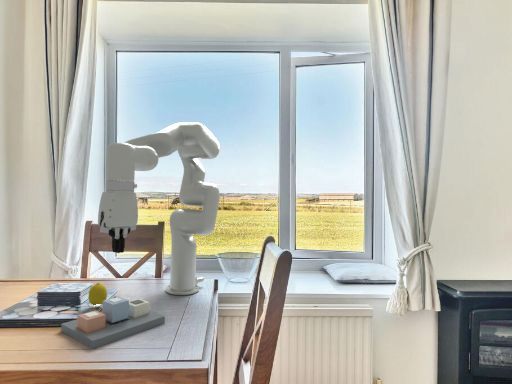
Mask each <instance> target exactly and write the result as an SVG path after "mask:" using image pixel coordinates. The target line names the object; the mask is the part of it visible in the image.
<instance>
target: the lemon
mask: <svg viewBox="0 0 512 384" xmlns="http://www.w3.org/2000/svg"><path fill="white" fill-rule="evenodd" d="M87 298H88V301H89V304H91V305H92V304H93V305H92V306H94V305H96V304H102V305H103V300H107V299H108V289H107V287H106V286H105V285H104V284H102V283H100V282H97V283H96V284H94V285H93V286H91V288H90V289H89V292H88V297H87Z"/></svg>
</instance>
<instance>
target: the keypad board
mask: <svg viewBox="0 0 512 384" xmlns="http://www.w3.org/2000/svg"><path fill="white" fill-rule="evenodd" d="M100 312H101V313H102V311H100ZM77 319H78V318H77ZM77 319H74V320H70V321H67V322H63V323H61V328H60V329H61V332H62V333H63V334H66V335H67V336H69V337H71V338H72V339H74V340H76V341H78V342H79V343H81V344H83V345H85V346H87V347H88V348H89V349H92V350H93V349H97V348H99V347H101V346H105V345H107V344H110V343H113V342H116V341H118V340H121V339H124V338H126V337H129V336H133V335H135V334H138V333H140V332H143V331H147V330H149V329H151V328H155V327H157V326H159V325H163V324H165V323H166V322H165V321H166V320H165V319H166V315H163V314H160V313H157V312H155V311H153V310H150V309H149V313H148V314H145V315H142V316H139V317H136V318H133V317H130V316H128V318H126V319H123V320H120V321H117V322H113V323H111V322H109V321H107V320H106V321H105V328H102V329H99V330H96V331H92V332H89V333H85V332H83V331H81V330H79V329H77Z"/></svg>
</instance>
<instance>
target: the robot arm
mask: <svg viewBox="0 0 512 384" xmlns="http://www.w3.org/2000/svg"><path fill="white" fill-rule="evenodd" d="M176 151H177V153H178V156H179V157H180V160H181V163H182V165H183V175H182V180H181V185H180V189H179V195H178V199H179V200H178V201H179V202H180V204H181V205H182V206H185V207H196V208H202V209H195V208H177V209H175V210H173V211H172V213H170V216H169V226H170V235H171V237H170V238H171V247H170V248H171V252H170V253H171V254H170V273H169V274H170V279H169V280H170V281H169V285H167V286H166V287H165V292H166V293H167V294H169V295H174V296H188V295H193V294H196V293H198V292H199V291H200V287H199V285H198V284H199V283H202V282H204V280H205V279H204V277H203V276H199V277H197V276H196V270H197V242H196V240H195V238H194V235H197V236H209V235H211V234H212V233H213V232H214V230H215V227H216V222H217V217H218V210H219V205H220V196H221V195H220V190H219V187H218V186H217V185H216V184H215V183H211V182H205V178H206V170H205V168H204V166H203V164H202V163H201V162H200V160H204V159H205V160H212V159H215V158H217V157H218V155H219V153H220V143H219V141H218V140H217V138H216V137H215V136H214V134H213V133H212V132H211V131H210V130H209V128H207V127H206V126H205V125H203V124H202V123H200V122H177V123H174V124H171V125H169V126H167V127H165V128H163V129H161V130H159V131H157V132H154V133H150V134H146V135H143V136H139V137H136V138H132V139H129V140H126V141H124V142H112V143H111V142H110V143H109V144H108V145H107V147H106V159H105V160H106V162H105V163H106V164H105V167H106V168H105V171H106V172H105V191H103V192H102V193H101V197H100V200H99V201H100V202H99V207H98V214H97V215H98V216H97V225H98V226H99V227H100V228H99V232H100V233H103V234H107V235H108V236H109V237H110V239H111V249H112V252H113V253H114V254H115V253H116V254H120V253H124V252H125V246H126V245H125V243H126V238H128V235H129V234H130V232H132V231H136V230H137V224H138V219H139V210H138V209H139V208H138V199H137V198H138V197H137V194H136V192H135V189H137V188H138V184H137V183H135V174H136V173H135V172H149V171H152V170H154V169H155V168H156V167H157V166H158V163H159V158H164V157H168V156H170V155H172V154H173V153H175V152H176Z"/></svg>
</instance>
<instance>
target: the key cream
mask: <svg viewBox="0 0 512 384" xmlns="http://www.w3.org/2000/svg"><path fill="white" fill-rule="evenodd" d="M149 310H150V302H149V301H147V300H144V299H141V298H136V299H133V300H129V314H128V316H130V317H133V318H136V317H139V316H142V315H145V314H148V313H149Z"/></svg>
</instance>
